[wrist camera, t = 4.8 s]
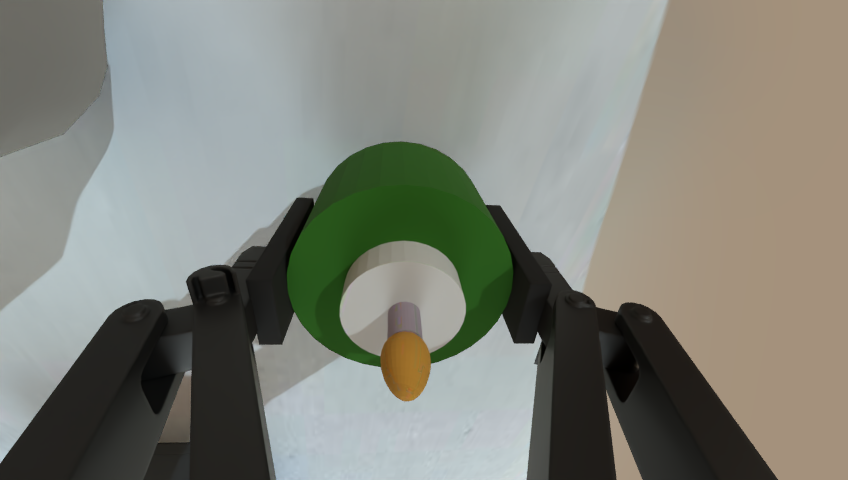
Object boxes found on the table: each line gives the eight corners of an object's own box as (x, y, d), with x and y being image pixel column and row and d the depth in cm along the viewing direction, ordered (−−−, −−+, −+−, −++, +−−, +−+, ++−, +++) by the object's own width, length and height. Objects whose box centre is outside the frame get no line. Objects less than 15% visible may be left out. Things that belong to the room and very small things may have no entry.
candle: (418, 310, 21) (436, 506, 12) (286, 243, 18) (184, 435, 9) (514, 204, 18) (632, 361, 9) (375, 102, 15) (350, 187, 6)
